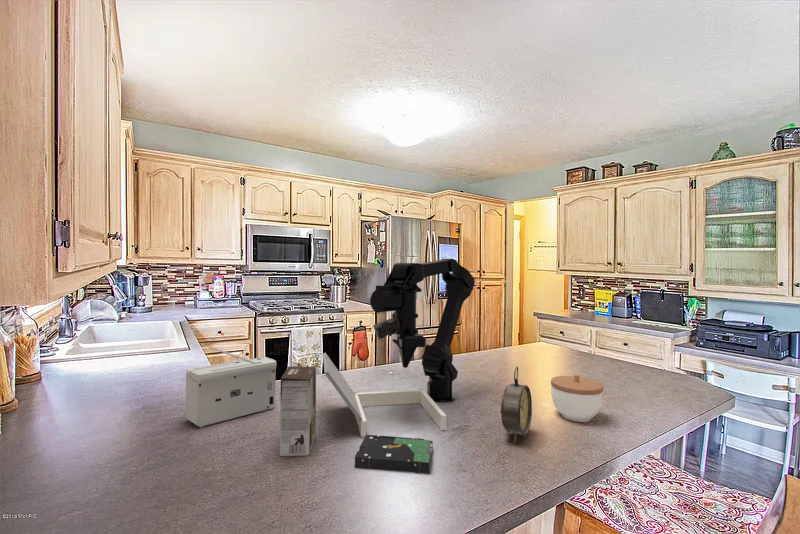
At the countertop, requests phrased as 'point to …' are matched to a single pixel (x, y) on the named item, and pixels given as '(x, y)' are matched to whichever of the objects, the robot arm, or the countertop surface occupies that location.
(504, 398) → the alarm clock
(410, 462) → the disk drive
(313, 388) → the coffee box
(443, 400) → the robot arm
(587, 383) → the lidded bowl
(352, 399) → the beige bent panel frame
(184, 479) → the countertop surface
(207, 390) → the stereo radio cassette player
